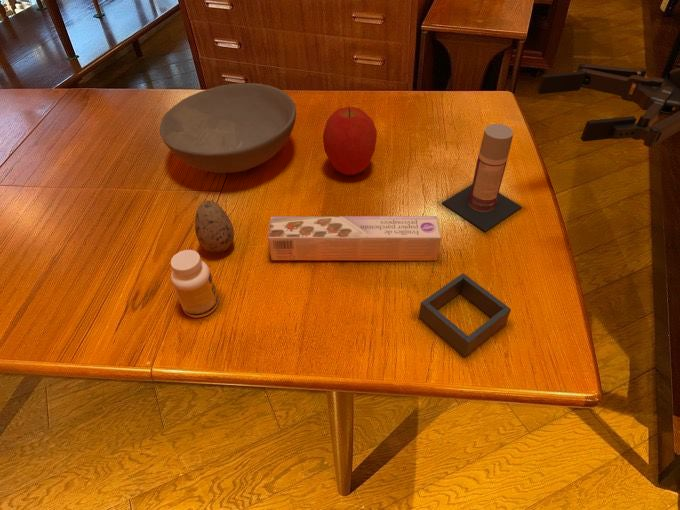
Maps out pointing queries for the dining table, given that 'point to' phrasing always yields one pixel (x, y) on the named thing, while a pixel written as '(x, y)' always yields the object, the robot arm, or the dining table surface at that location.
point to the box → (354, 237)
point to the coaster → (480, 219)
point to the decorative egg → (213, 227)
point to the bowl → (229, 126)
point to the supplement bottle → (193, 284)
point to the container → (490, 167)
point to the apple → (349, 140)
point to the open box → (475, 296)
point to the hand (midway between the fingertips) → (561, 106)
